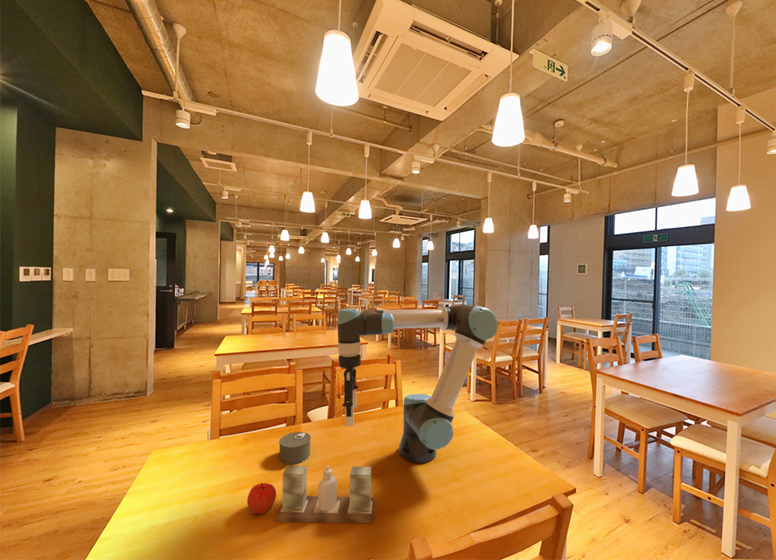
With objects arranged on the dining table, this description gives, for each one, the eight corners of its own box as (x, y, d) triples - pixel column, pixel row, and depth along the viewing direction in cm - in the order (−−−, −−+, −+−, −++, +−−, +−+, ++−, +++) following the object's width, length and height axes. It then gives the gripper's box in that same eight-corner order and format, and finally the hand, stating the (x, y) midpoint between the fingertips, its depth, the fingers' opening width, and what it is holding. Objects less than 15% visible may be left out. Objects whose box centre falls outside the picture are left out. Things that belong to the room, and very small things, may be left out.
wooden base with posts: (374, 501, 97) (374, 462, 97) (372, 523, 88) (373, 480, 88) (286, 499, 98) (286, 460, 98) (275, 521, 89) (276, 478, 89)
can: (272, 461, 119) (272, 443, 119) (292, 446, 130) (293, 429, 130) (297, 468, 114) (297, 449, 114) (316, 452, 126) (316, 435, 126)
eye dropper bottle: (317, 502, 94) (317, 463, 95) (335, 499, 96) (336, 460, 96) (318, 512, 90) (319, 471, 90) (337, 508, 92) (338, 468, 92)
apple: (241, 519, 89) (242, 491, 90) (255, 499, 97) (255, 474, 98) (268, 520, 89) (269, 492, 89) (279, 501, 97) (280, 475, 97)
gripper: (342, 346, 118) (344, 402, 118) (333, 364, 93) (335, 434, 93) (362, 346, 118) (363, 401, 118) (358, 363, 93) (360, 433, 93)
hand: (351, 416), depth 105 cm, fingers open, 13 cm apart
